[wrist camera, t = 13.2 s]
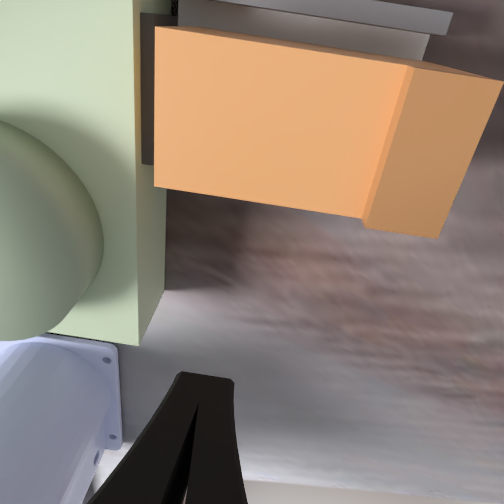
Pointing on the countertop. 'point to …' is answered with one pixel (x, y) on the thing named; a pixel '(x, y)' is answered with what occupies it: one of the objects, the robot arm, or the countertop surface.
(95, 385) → the robot arm
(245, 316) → the countertop surface
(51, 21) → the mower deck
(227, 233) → the countertop surface
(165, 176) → the orange stepped block
